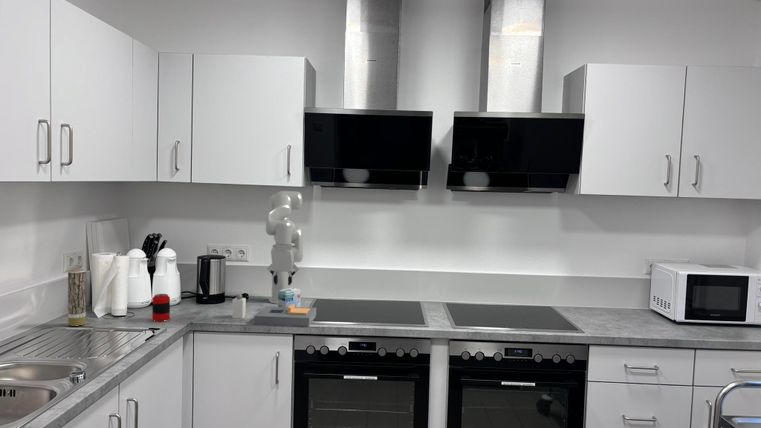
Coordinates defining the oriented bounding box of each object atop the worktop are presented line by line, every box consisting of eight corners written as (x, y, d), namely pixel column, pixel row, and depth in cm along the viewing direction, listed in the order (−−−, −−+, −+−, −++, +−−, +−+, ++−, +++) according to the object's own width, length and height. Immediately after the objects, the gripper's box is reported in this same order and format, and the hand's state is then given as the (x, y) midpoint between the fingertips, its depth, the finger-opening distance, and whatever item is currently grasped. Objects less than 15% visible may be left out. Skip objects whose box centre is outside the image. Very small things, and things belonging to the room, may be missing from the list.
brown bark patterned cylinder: (66, 327, 229) (65, 271, 228) (70, 323, 236) (70, 269, 234) (83, 327, 231) (83, 271, 229) (87, 323, 237) (87, 269, 236)
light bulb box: (286, 312, 266) (286, 292, 265) (277, 310, 270) (277, 290, 269) (301, 309, 275) (301, 289, 274) (292, 307, 279) (292, 287, 278)
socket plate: (265, 313, 263) (265, 305, 263) (316, 315, 262) (316, 307, 261) (254, 324, 243) (254, 315, 243) (308, 326, 242) (309, 318, 241)
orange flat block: (291, 309, 256) (291, 303, 256) (309, 310, 256) (309, 304, 256) (287, 313, 247) (287, 308, 247) (306, 314, 247) (306, 308, 247)
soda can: (152, 322, 241) (152, 297, 240) (152, 318, 248) (152, 293, 247) (169, 321, 244) (169, 296, 243) (169, 317, 251) (169, 293, 250)
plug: (235, 315, 258) (235, 293, 257) (245, 315, 258) (245, 294, 257) (232, 318, 253) (232, 295, 252) (242, 318, 253) (242, 296, 252)
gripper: (263, 247, 247) (263, 285, 248) (299, 249, 246) (298, 286, 247) (267, 246, 254) (267, 282, 255) (302, 247, 254) (301, 283, 255)
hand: (282, 284), depth 251 cm, fingers open, 6 cm apart
